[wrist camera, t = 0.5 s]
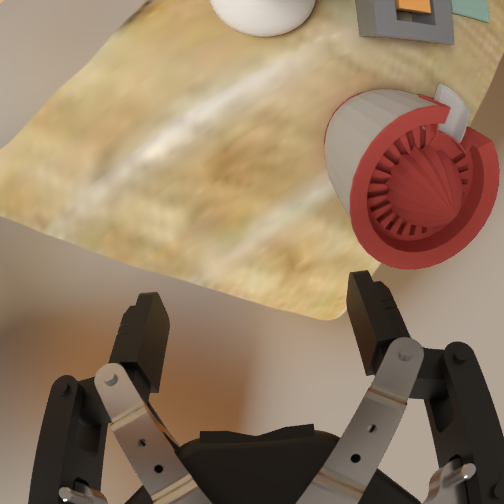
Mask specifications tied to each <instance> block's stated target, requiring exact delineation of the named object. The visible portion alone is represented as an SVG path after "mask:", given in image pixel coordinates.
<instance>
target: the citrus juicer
mask: <svg viewBox="0 0 504 504" xmlns="http://www.w3.org/2000/svg"><path fill="white" fill-rule="evenodd" d="M469 113H470V110H469V108H468V106H467V105H466V104H465V103H464V102H463V101H462V99H461V98H460V97H459V96H458V95H457V94H456V93H455V92H454V91H452V90H451V89H450V88H448V87H447V86H445V85H443V84H440V83H438V86H437V89H436V93H435V95H434V98H430V97H427V96H424V95H421V94H419V96H418V95H416V94H412V93H408V92H404V91H399V90H395V89H378V90H372V91H367V92H363V93H359V94H357V95H355V96H352V97H350V98H349V99H348V100H346V101H345V102H344V103H342V104H341V105H340V106H339V107H338V109H337V110H336V111H335V112H334V114H333V115H332V117H331V119H330V120H329V123H328V126H327V129H326V132H325V139H324V152H325V162H326V167H327V171H328V175H329V178H330V180H331V183H332V185H333V187H334V189H335V191H336V193H337V195H338V197H339V199H340V201H341V202H342V204H343V206H344V208H345V210H346V211H347V213H348V215H349V217H350V219H351V222H352V227H353V230H354V232H355V235H356V237H357V239H358V241H359V243H360V244H361V245H362V247H363V248H364V249H365V250H366V252H367V253H368V254H370V255H371V256H372V257H373V258H375V259H376V260H377V261H379V262H381V263H383V264H386V265H388V266H390V267H394V268H399V269H420V268H426V267H430V266H433V265H436V264H439V263H441V262H443V261H445V260H447V259H449V258H451V257H452V256H454V255H455V254H457V253H458V252H459V251H461V250H462V249H463V248H465V247H466V246H467V245H468V244H469V243H470V242H471V241H472V240H473V239H474V238H475V236H476V235H477V234H478V232H479V231H480V230H481V229H482V227H483V226H484V224H485V222H486V221H487V219H488V217H489V215H490V213H491V211H492V208H493V206H494V203H495V200H496V196H497V191H498V186H499V164H498V156H497V153H496V150H495V147H494V144H493V142H492V140H490V139H489V138H487V137H485V136H484V135H482V134H481V133H479V132H477V131H476V130H474V129H472V128H470V127H468V126H467V124H468V119H469Z"/></svg>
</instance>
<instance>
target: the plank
mask: <svg viewBox="0 0 504 504" xmlns="http://www.w3.org/2000/svg"><path fill="white" fill-rule="evenodd" d="M395 7H396V10H397V11H405V12H412V13H418V14H425V13H431V9H430V1H429V0H395Z"/></svg>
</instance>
